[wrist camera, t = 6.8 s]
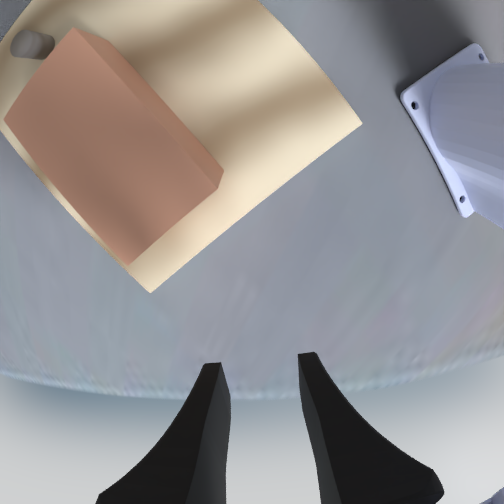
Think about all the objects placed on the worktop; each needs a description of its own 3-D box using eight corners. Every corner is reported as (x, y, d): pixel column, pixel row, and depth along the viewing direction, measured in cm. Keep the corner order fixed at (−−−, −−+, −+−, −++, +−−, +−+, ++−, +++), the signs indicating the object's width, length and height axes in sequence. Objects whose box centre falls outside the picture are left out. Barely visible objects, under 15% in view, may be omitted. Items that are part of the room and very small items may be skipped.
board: (357, 122, 16) (380, 126, 13) (153, 286, 20) (139, 316, 17) (138, -87, 9) (122, -110, 6) (-22, 89, 13) (-52, 92, 10)
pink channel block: (224, 170, 16) (217, 188, 13) (149, 233, 18) (127, 266, 14) (108, 40, 13) (73, 27, 9) (45, 113, 14) (3, 119, 11)
